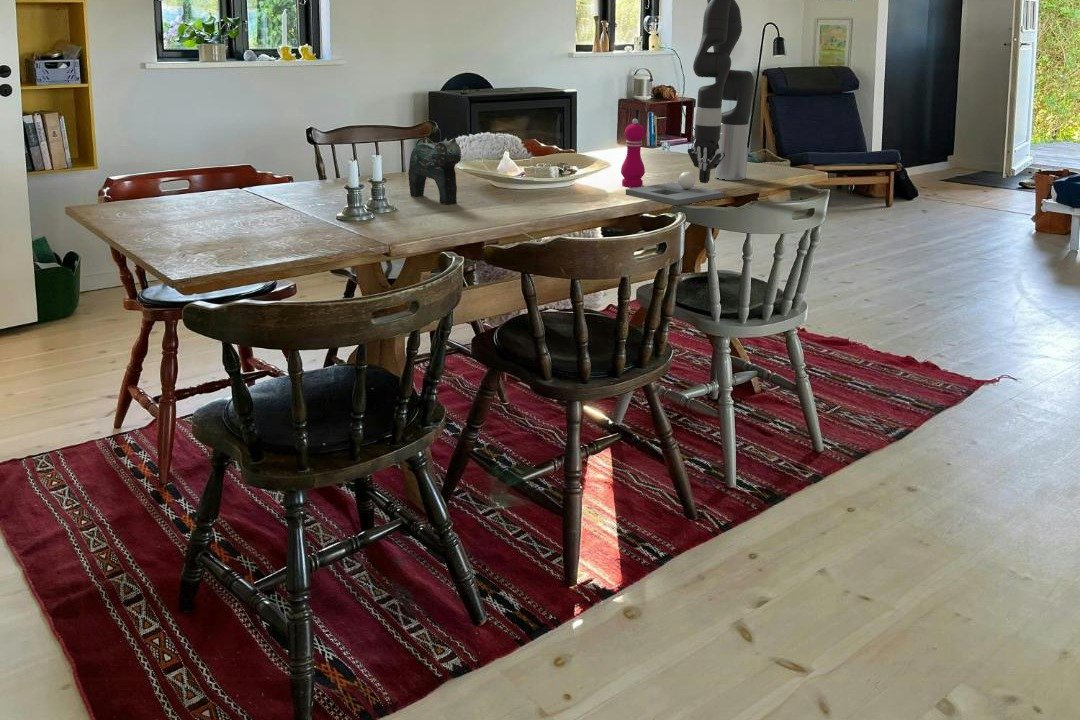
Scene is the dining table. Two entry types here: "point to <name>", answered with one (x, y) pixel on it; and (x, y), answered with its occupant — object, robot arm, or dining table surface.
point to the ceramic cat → (435, 168)
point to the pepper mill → (633, 156)
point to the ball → (686, 180)
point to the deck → (674, 193)
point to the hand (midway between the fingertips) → (704, 182)
